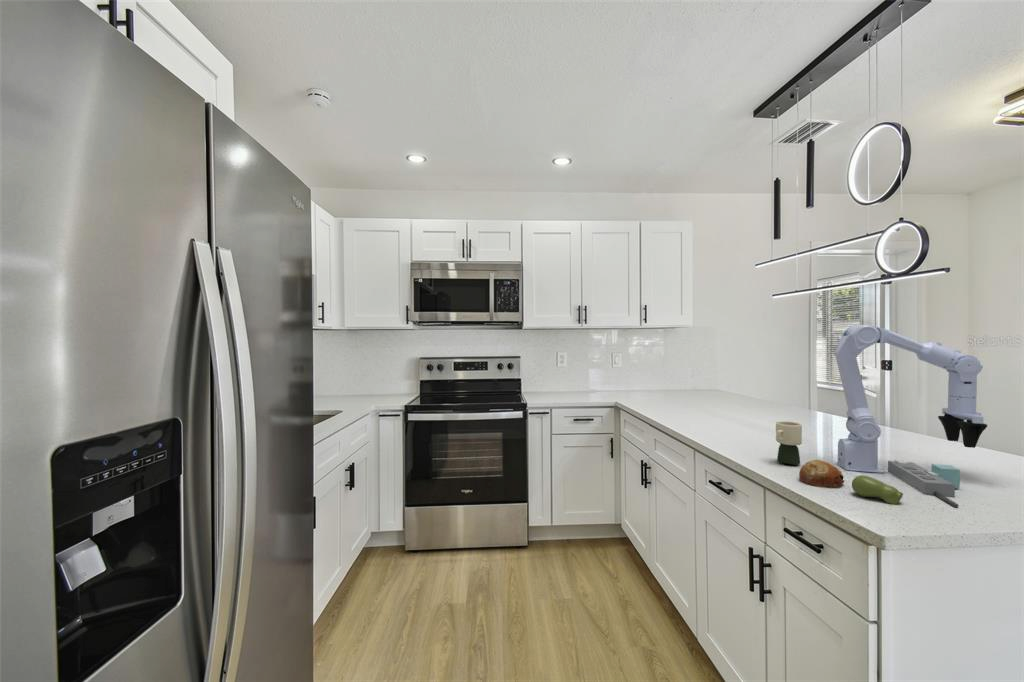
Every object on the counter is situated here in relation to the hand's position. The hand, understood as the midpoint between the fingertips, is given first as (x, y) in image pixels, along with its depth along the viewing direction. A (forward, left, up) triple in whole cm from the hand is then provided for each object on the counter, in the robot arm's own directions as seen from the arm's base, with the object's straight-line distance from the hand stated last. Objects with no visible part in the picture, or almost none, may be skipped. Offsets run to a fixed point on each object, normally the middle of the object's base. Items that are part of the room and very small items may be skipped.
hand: (960, 443), depth 127 cm
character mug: (-43, 0, -10) cm, 44 cm away
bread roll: (-39, -17, -10) cm, 43 cm away
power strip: (-14, -14, -10) cm, 22 cm away
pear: (-30, -27, -10) cm, 41 cm away
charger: (-9, -11, -10) cm, 17 cm away
